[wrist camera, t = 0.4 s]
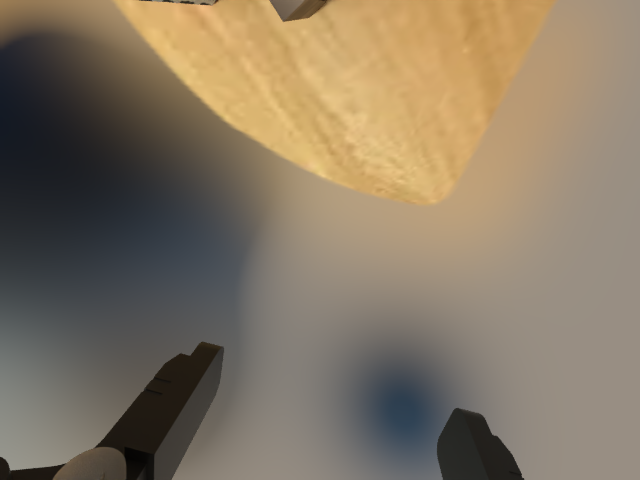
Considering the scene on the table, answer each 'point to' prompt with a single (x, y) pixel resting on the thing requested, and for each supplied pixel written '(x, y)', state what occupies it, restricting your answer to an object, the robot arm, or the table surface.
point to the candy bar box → (188, 1)
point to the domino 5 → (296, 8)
